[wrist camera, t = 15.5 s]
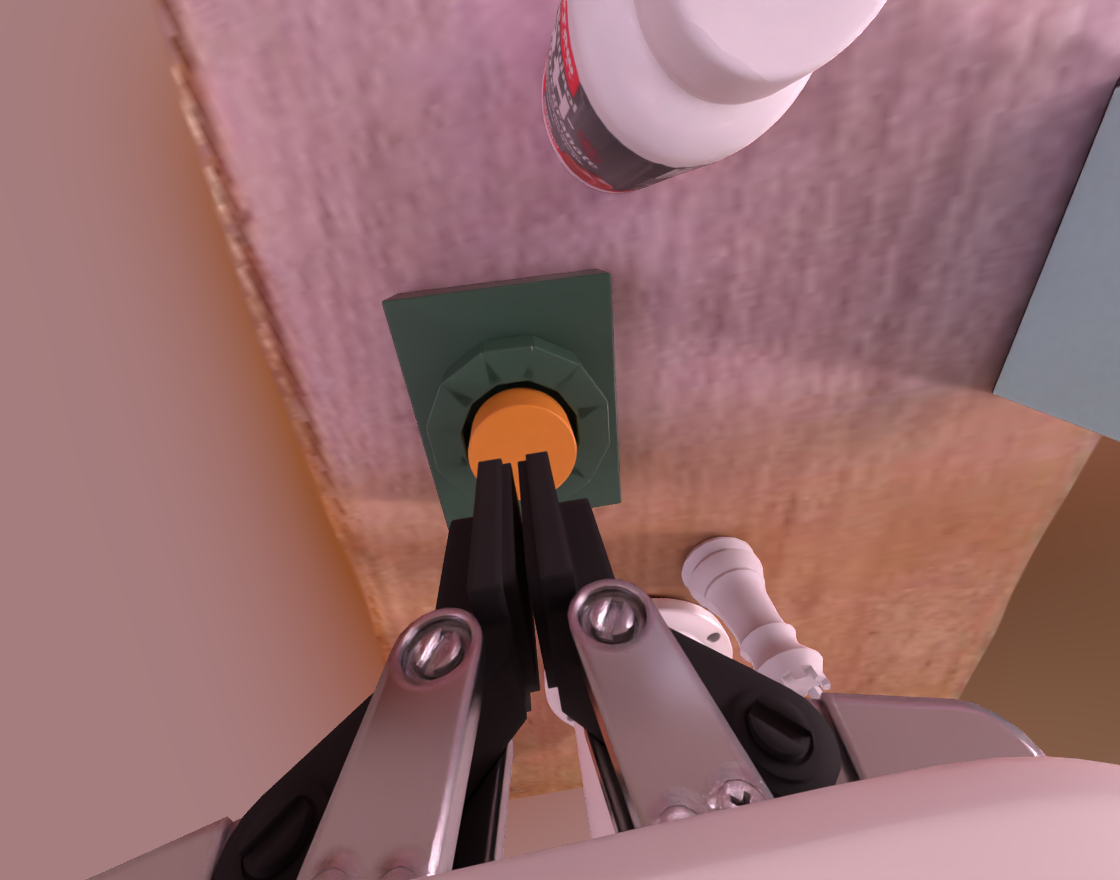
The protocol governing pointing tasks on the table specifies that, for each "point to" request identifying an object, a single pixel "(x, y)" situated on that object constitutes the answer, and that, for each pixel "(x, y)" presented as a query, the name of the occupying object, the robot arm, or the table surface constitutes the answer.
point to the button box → (511, 371)
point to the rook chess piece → (751, 613)
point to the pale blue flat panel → (1077, 304)
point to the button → (523, 432)
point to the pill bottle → (680, 79)
